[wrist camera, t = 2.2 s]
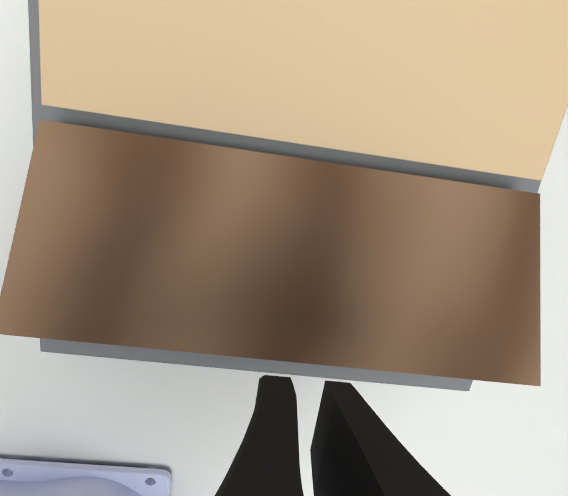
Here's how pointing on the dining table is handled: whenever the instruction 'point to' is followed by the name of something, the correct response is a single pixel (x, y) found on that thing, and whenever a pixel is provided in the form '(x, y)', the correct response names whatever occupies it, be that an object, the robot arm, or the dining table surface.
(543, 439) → the dining table surface
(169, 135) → the base board
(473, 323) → the walnut plank
